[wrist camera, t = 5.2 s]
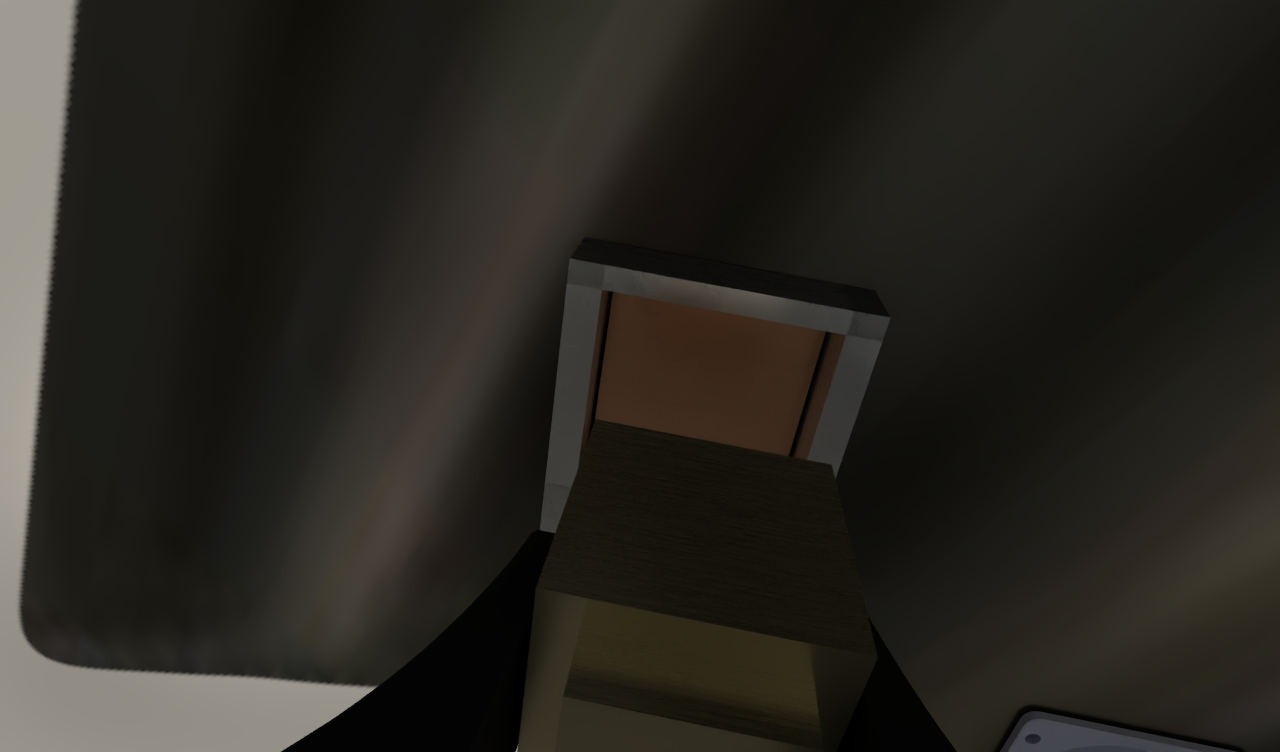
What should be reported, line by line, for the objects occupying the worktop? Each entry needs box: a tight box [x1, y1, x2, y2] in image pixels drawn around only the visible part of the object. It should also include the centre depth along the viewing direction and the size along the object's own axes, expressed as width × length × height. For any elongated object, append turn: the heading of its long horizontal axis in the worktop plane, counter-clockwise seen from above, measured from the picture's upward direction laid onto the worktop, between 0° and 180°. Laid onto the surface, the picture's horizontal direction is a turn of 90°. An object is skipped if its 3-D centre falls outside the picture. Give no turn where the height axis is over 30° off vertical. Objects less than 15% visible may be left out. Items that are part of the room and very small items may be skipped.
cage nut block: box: [518, 419, 878, 752], centre depth 12 cm, size 4×4×6 cm
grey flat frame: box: [540, 238, 890, 533], centre depth 21 cm, size 15×8×2 cm, turn 171°
